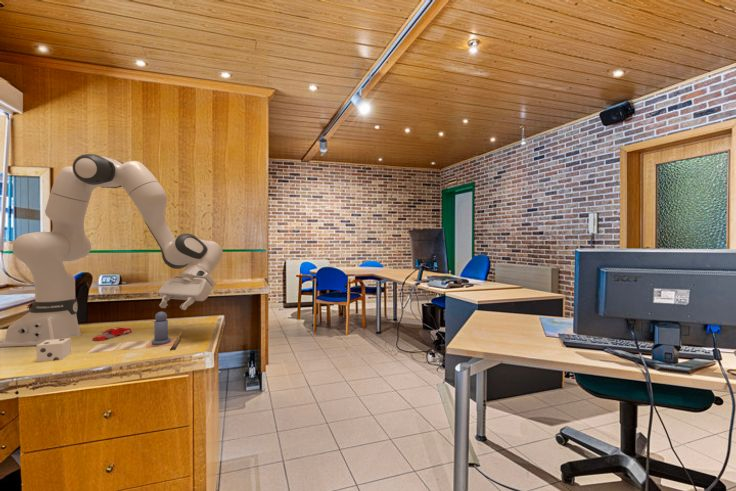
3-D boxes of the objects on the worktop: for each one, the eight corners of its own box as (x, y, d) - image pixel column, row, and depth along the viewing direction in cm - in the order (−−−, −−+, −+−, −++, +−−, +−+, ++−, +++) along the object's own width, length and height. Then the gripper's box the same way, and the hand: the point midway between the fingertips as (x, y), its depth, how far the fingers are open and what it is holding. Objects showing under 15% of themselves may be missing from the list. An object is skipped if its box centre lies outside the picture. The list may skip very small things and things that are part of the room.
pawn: (150, 345, 118) (149, 313, 117) (153, 341, 123) (153, 310, 123) (169, 344, 120) (168, 312, 119) (171, 339, 125) (171, 309, 125)
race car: (99, 346, 122) (99, 334, 122) (88, 344, 124) (87, 333, 124) (134, 335, 135) (134, 325, 135) (123, 334, 136) (123, 324, 136)
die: (36, 366, 102) (36, 345, 102) (47, 359, 108) (46, 339, 108) (62, 363, 104) (62, 343, 104) (71, 357, 110) (71, 337, 110)
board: (79, 358, 108) (79, 354, 108) (93, 347, 120) (93, 344, 120) (175, 349, 117) (175, 346, 117) (180, 339, 129) (180, 336, 129)
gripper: (168, 271, 135) (144, 300, 126) (210, 273, 128) (188, 304, 119) (178, 281, 140) (155, 310, 131) (219, 283, 133) (199, 315, 124)
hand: (171, 308), depth 125 cm, fingers open, 8 cm apart
